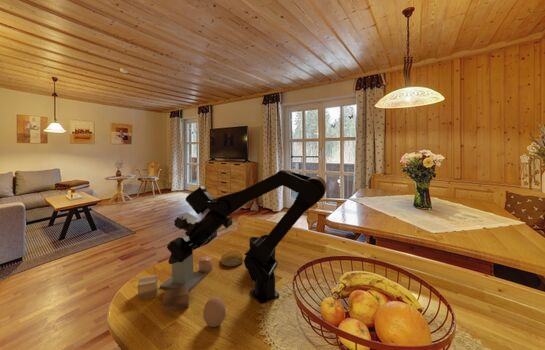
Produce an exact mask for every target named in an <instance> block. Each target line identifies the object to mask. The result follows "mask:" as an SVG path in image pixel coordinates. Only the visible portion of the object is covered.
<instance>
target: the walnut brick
mask: <svg viewBox="0 0 545 350" xmlns="http://www.w3.org/2000/svg"><path fill="white" fill-rule="evenodd" d="M189 306H190V305H189V292H188V286H186V287H180V288H175V289H165V290H164V293H163V296H162V307H163V309H162V310H163V311H162V312H163V314H167V313H171V312H175V311H176V312H177V311H181V310H186V309H189Z"/></svg>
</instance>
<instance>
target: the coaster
mask: <svg viewBox="0 0 545 350" xmlns="http://www.w3.org/2000/svg"><path fill="white" fill-rule="evenodd" d="M206 276H207V273H200V272H199V271H194V277H193V278H191V279H190V280H189V281H188V282H187V283H186V284H182V283H176V282H173V278H172V276H170V277H169V278H168V279H166V280H165V281H164V282H162V283H161V284H160V285H159V289H160V288H161V289H165V290H169V289H175V288H180V287H186V286H188V293H190V291H192V290H193V288H195V287H196V286H197V285H198V284H199V283H200V282H201V281H202V280H203V279H204V278H206Z"/></svg>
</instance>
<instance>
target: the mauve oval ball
mask: <svg viewBox="0 0 545 350" xmlns="http://www.w3.org/2000/svg"><path fill="white" fill-rule="evenodd" d="M226 312H227V311H226V305H225V303H224V301H223V300H222V298H220V297H219V296H212V297H210V298H209V299H208V300H207V301H206V302H205V305H204V307H203V312H202V314H203V320H204V322H205V323H206V325H207V326H208V327H211V328H215V327H219V326H220V325H221V324H222V323H223V322H224V320H225V317H226Z"/></svg>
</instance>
